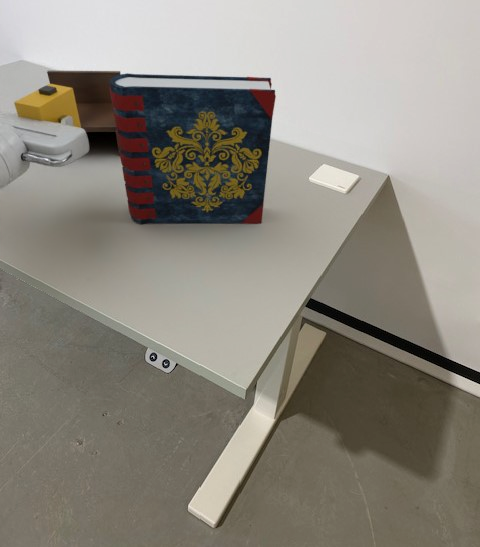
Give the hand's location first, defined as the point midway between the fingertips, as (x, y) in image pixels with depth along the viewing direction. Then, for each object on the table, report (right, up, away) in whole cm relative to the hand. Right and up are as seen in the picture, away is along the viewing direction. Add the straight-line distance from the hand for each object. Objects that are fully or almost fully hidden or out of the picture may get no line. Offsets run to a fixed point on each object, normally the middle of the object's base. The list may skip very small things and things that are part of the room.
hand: (53, 116), depth 71 cm
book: (+23, -15, +10) cm, 30 cm away
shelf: (-4, +5, +29) cm, 30 cm away
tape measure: (0, -4, +3) cm, 5 cm away
